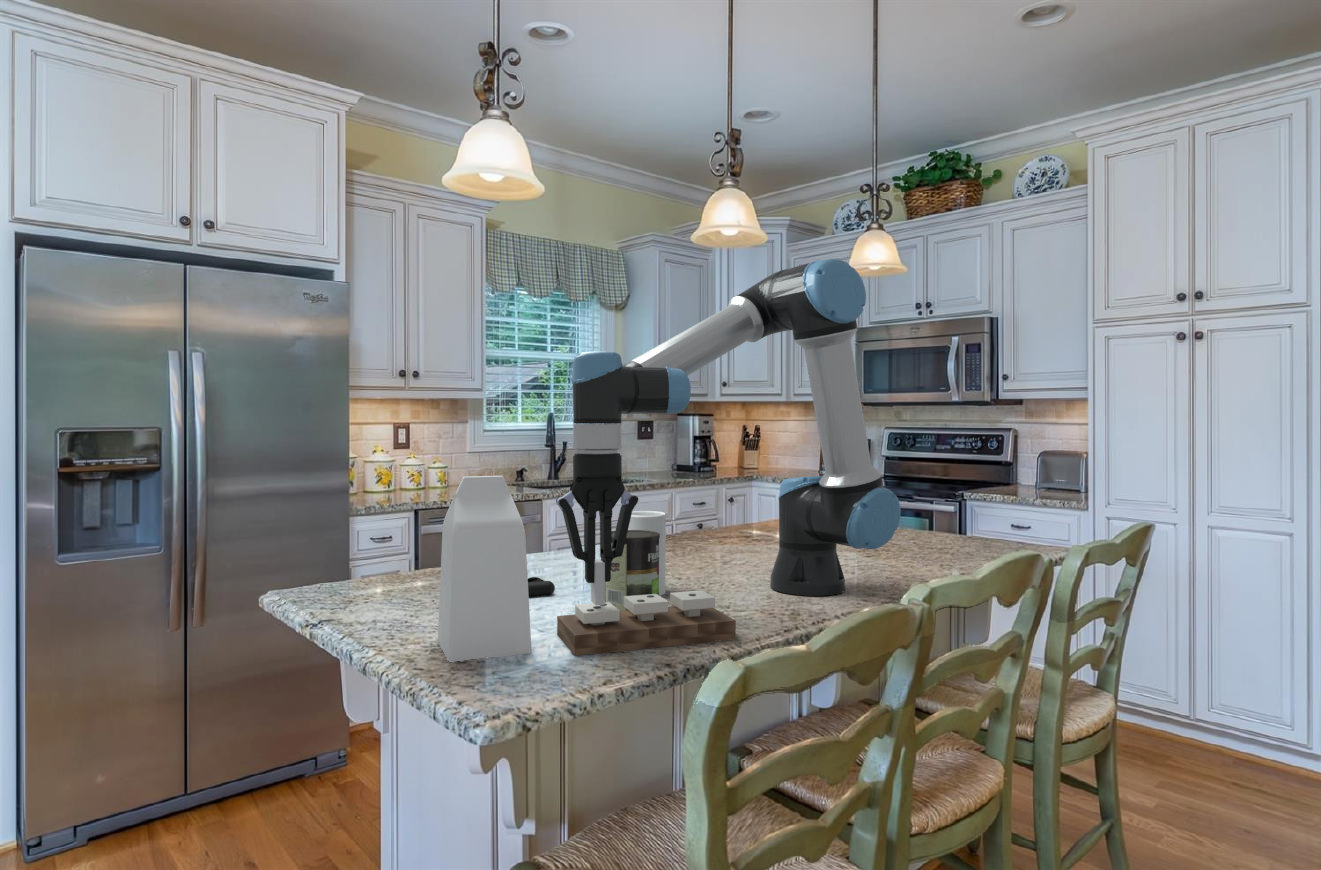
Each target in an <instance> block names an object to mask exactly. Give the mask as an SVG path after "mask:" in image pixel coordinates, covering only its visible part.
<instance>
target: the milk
mask: <svg viewBox="0 0 1321 870" xmlns="http://www.w3.org/2000/svg"><path fill="white" fill-rule="evenodd" d="M505 479H506V478H505V476H504V475H482V476H480V475H478V476H462V478H461V480H460V482H459V484H458V487H457V488H456V491H455V493H454V495H453V498H452V500H451V502H450V504H449V507H448V510H447V511H446V513H445V517H444V519H443V522H442V534H441V553H440V554H441V557H440V582H439V583H440V584H439V604H438V605H439V606H438V629H437V643H438V645H439V646H440V648H441V651H442V650H443V651H442V652H444V653H443V654H445V655H444V656H446V657H447V659H448V660H447V659H446V660H447V662H448V661H449V662H452V661H460V662H463V661H462V660H469V659H477V660H479V659H478V658H485V659H490V658H489V657H494V658H501V657H509V656H510V657H511V656H519V655H527V654H532V652H533V651H532V649H533V648H532V634H531V633H532V632H531V617H530V615H531V614H530V600H529V599H530V597H529V594H528V578H529V577H528V576H529V575H528V558H527V544H526V543H527V541H526V532H525V531H526V530H525V526H524V523H523V519H522V517H521V514H520V513H519V510H518V508H517V505H516V503H515V500H514V499H513V496H512V494H511V491H510V488H509V486H508V483H507V481H506V480H505ZM446 657H445V658H446ZM487 657H488V658H487ZM469 661H470V660H469ZM449 662H448V663H449ZM452 663H453V662H452Z"/></svg>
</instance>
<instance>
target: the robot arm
mask: <svg viewBox="0 0 1321 870" xmlns="http://www.w3.org/2000/svg"><path fill="white" fill-rule="evenodd" d="M866 302H867V293H866V286H865V284H864V281H863V279H862V277H861V275H860V274H859V272H858V271H857V269H856V268H855V267H852V266H851V265H850V264H849V262H846V261H844V260H842V259H839V258H828V259H826V258H825V259H817V260H815V261H811V262H808V263H805V264H801V265H797V266H795V267H791V268H786V269H782V270H779V271H776V272H774V273H771V274H770V275H768V276H767V277H764V278H763V279H762V280H760V281H759V282H757V283H755V284H754V285H751V287H749V288H747V289H746V290H744V291H742V292H741V293H739V294H737V295H735V296H734V297H732V298H731V299H730V300H729V301H728V305H727V307H725V308H723V309H721V310H720V311H717V312H715V313H714V314H712V315H710V316H709V317H707V318H704V319H703V320H702V321H700V322H698V323H696V324H694V325H693V326H691V327H688V329H687V328H686V329H685V330H684V331H682V332H680V333H678V334H676V335H674V336H672V337H671V338H669V339H668V340H665V341H664V342H662V343H660V344H658V345H657V346H655V347H653V348H651V349H649V350H648V351H646V352H644V353H642V354H639V356H636V357H635V358H634V359H632V360H630V361H628V362H626V363H624V364H623V361H622V357H621V354H620V353H619V352H614V351H612V352H611V351H599V350H597V351H583V352H579V353H577V354H576V355H575V356H574V359H573V364H572V365H573V366H572V379H571V384H572V408H573V409H572V411H573V412H572V413H573V415H572V417H573V418H572V419H573V420H572V424H573V425H572V426H573V427H572V428H573V429H572V430H573V432H572V434H573V435H572V439H573V440H572V448H573V449H574V450H575V451H576V453H574V454H573V455H572V461H573V462H572V464H573V465H572V483H571V485H570V487H569V492H567V493H565V494H564V495H563V496H558V497H557V498H556V500H555V502H556V504H557V506H558V507H559V510H561V512H562V516H563V520H564V523H565V527H566V531H567V535H568V536H567V537H568V539H569V543H570V548H571V552H572V555H573V556H574V557H575V558H576V559H578V560H581V561H584V579H585V582H586V583H587V584H590V602H591V604H595V605H605V582H610V579H611V562H612V561H613V559H614V558H616V557H620V556H622V554H623V550H624V545H625V541H626V536H627V532H628V528H629V523H630V519H631V514H632V512H633V511H634V509H635V507H636V505H637V504H638V502H639V497H638V496H637V495H634V494H631V493H630V492H628V491H627V490H626V488H625V485H624V483H623V480H622V477H623V476H622V475H623V473H622V472H623V471H622V469H623V467H622V466H623V465H622V458H623V457H622V456H623V455H621V453H619V450H621V449H622V445H623V443H622V439H623V438H622V437H623V436H622V415H628V414H629V415H655V414H658V415H659V414H660V415H669V414H671V415H672V414H680V413H682V412H684V411H685V410H686V409H687V407H688V405H689V403H690V400H691V396H692V394H691V388H692V387H691V386H692V385H691V381H690V378H689V376H690V375H691V374H693V373H695V372H697V371H698V370H701V369H702V368H704V367H705V366H707V365H709V364H711V363H712V362H714V361H715V360H717V359H719V358H720V357H723V356H724V355H726V354H728V353H730V352H731V351H733V350H734V349H736V348H738V347H740V346H741V345H743V344H744V343H746V342H749V343H756V342H758V341H760V340H762V339H763V338H765V337H768V336H771V335H773V334H778V333H781V332H789V331H792V336H793V341H794V342H795V343H796V344H798V345H799V346H800V347H801V348H802V349H803V351H804V356H805V361H806V367H807V374H808V380H809V386H810V390H811V392H810V393H811V397H812V402H813V409H814V414H815V418H816V419H815V420H816V425H817V431H818V436H819V443H820V449H821V455H822V461H823V466H824V471H825V472H824V474H823V475H816V476H800V477H790V478H785V479H783V480H782V481H781V483H780V486H779V495H778V533H779V534H778V537H779V538H778V539H779V540H778V544H779V545H778V553H777V556H776V559H775V561H774V564H773V568H772V571H771V574H770V585H769V586H770V588H771V589H772V590H774V591H776V592H780V593H782V594H783V593H784V594H787V595H788V594H790V595H796V596H810V597H812V596H813V597H819V596H821V597H824V596H832V595H838V594H842V593H843V592H845V591H846V578H845V575H844V573H843V568H842V565H841V562H840V558H839V556H838V551H837V545H840V546H841V545H842V546H847V547H851V548H853V549H861V550H863V549H865V550H876V549H880V548H882V547H883V546H885V545H886V544H887V543H889V542H890V541H891V540H892V538H893V537H894V534H895V533H896V531H897V530H898V527H899V524H900V521H901V511H902V510H901V503H900V500H899V498H898V497H897V494H895V493H894V492H893V491H892V490H890V488H887V487H884V483H883V476H882V473H881V471H880V470H878V469H877V468H875V467H874V466H873V465H872V461H871V455H870V448H869V443H868V436H867V431H866V424H865V423H866V422H865V419H864V412H863V408H862V407H863V406H862V401H861V395H860V394H861V393H860V389H859V388H860V387H859V382H858V377H857V376H858V375H857V370H856V363H855V360H854V359H855V358H854V351H853V346H852V338H853V337H854V336H855V334H856V332H858V330H859V329H858V325H857V319H858V318H859V317H860V316H861V315H862V313H863V311H864V308H863V307H865V306H866ZM574 500H575V501H576V502H577V504H578V505H579V506H580V508H581V509H582V511H583V512H582V514H583V545H582V540H581V536H580V532H579V528H578V524H577V520H576V517H575V516H576V515H575V512H574V510H573V507H574V505H575V502H574ZM619 500H620V504H621V507H620V510H619V513H618V517H617V523H616V526H615V530H614V531H615V535H614V539H613V544H612V531H613V530H612V518H613V509H614V508H615V506H616V505H617V503H618V501H619ZM597 513H598V516H599V557H600V559H596V519H597Z"/></svg>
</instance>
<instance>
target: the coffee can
mask: <svg viewBox="0 0 1321 870" xmlns="http://www.w3.org/2000/svg"><path fill="white" fill-rule="evenodd" d="M615 531H616V530H612V544H613V539H614V535H615ZM659 538H660V534H659V533H657V532H653V531H645V530H628V532H627V536H626V541H625V545H624V550H623V554H622V556H620V557H616V558H614V559H613V561H612V562H611V579H610V582H605V603H607V602H610V603H611V604H612V605H613V606H615V607H616V608H617V609H618V610H619V611H623V610H628V609H627V608H625V607H624V596H635V595H648V594H657V595H659Z"/></svg>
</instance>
